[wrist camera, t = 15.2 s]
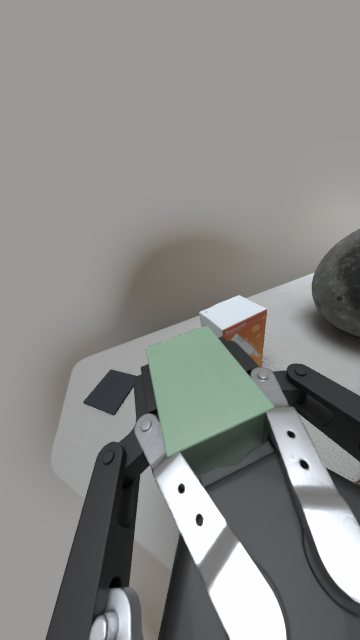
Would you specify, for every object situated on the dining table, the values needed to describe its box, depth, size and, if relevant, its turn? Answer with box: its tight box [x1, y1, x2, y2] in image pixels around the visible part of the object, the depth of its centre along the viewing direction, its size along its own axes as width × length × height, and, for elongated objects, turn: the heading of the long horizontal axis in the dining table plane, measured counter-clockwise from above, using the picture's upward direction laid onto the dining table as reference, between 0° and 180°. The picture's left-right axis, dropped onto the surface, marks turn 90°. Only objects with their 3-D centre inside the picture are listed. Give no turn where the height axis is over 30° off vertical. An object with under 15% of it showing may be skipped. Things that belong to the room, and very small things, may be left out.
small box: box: [199, 295, 267, 367], centre depth 29 cm, size 8×6×13 cm
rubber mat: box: [83, 370, 136, 415], centre depth 34 cm, size 8×8×1 cm
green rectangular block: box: [146, 326, 275, 481], centre depth 13 cm, size 7×5×10 cm
